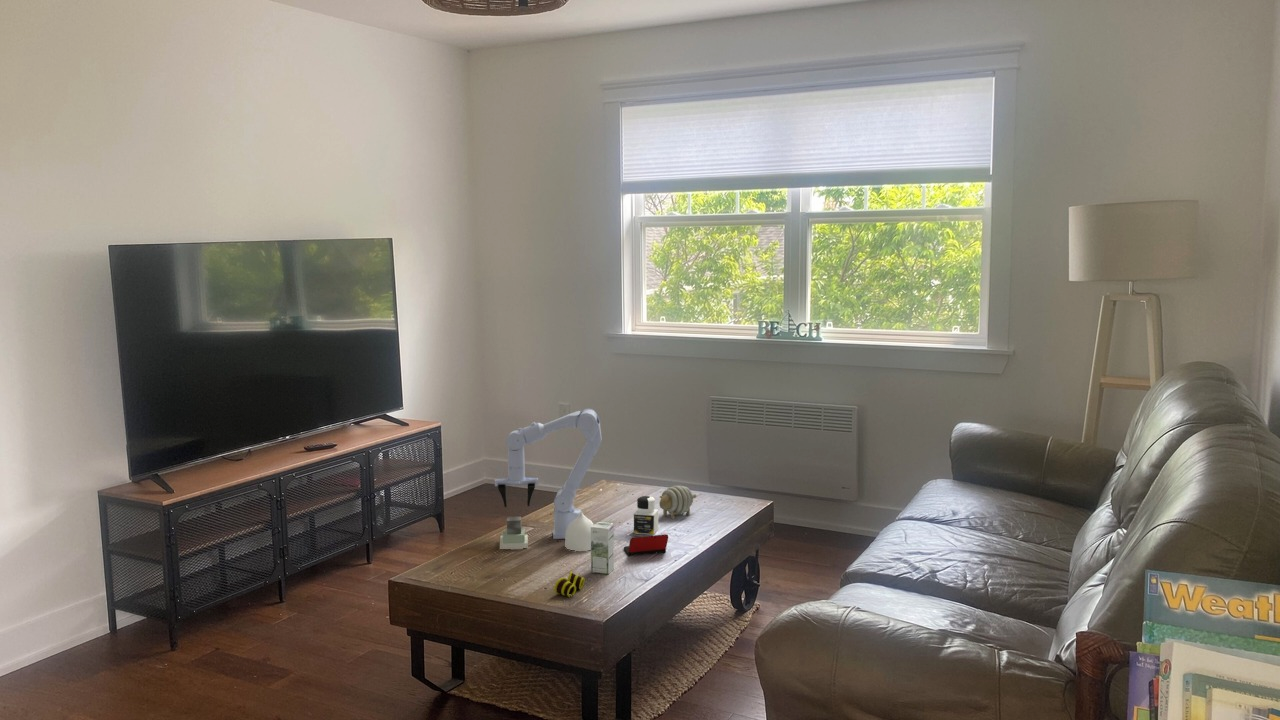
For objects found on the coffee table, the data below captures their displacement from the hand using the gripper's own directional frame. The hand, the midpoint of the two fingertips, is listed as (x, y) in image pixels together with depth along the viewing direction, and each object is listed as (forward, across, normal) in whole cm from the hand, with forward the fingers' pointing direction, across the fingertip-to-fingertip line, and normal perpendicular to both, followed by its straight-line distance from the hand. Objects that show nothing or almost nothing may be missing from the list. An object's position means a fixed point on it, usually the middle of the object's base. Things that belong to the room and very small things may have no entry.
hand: (517, 505), depth 303 cm
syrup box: (+11, +26, -38) cm, 47 cm away
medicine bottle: (+11, +44, -1) cm, 45 cm away
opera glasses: (+11, +16, -53) cm, 57 cm away
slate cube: (+6, -1, -10) cm, 12 cm away
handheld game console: (+11, +41, -23) cm, 48 cm away
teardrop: (+11, +21, -14) cm, 27 cm away
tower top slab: (+9, -1, -10) cm, 13 cm away
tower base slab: (+11, -1, -10) cm, 15 cm away
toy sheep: (+11, +58, +16) cm, 61 cm away
